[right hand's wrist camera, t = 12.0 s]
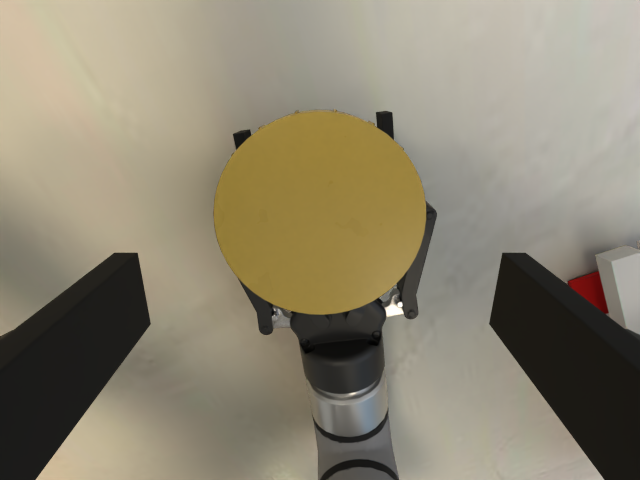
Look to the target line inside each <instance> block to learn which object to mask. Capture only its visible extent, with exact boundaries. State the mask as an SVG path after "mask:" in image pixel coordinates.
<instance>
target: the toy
mask: <svg viewBox="0 0 640 480" xmlns="http://www.w3.org/2000/svg"><path fill="white" fill-rule="evenodd" d="M637 246H638V249H635V248H633V247H630V246H627V245H624V246H621V247H618V248H615V249H612V250H609V251H606V252H603V253H599V254H596V255H595V257H596V261H597V265H598V270H599V271H597V272H594V273H591V274H588V275H585V276H582V277H579V278H576V279H573V280H570V281H568V283H569V286H570V287H571V288H572V289H573V290H575V291H576V292H577V293H579V294H580V295H581V296H583V297H584V298H585V299H586V300H588V301H589V302H590V303H592V304H593V305H594V306H596V307H597V308H598V309H600V310H601V311H602V312H603V313H605V314H606V315H607V316H609V317H610V318H611V319H613V320H614V321H615V322H616V323H618V324H619V325H620V326H622V327H623V328H624V329H629V330H631V331H633V332H635V333H637V334H639V335H640V241H637Z"/></svg>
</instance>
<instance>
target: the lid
mask: <svg viewBox="0 0 640 480" xmlns="http://www.w3.org/2000/svg"><path fill="white" fill-rule="evenodd" d="M374 125H375V124H374V123H372V122H370V121H368V122H367V121H365V120H362V119H360V118H358V117H356V116H353V115H350V114H347V113H344V112H338V111H337V110H336V109H334V111H332V110H309V111H301V112H299V110H298V111H296V112H295V113H293V114H289V115H287V116H284V117H282V118H279V119H277V120H275V121H273V122H271V123H270V124H268V125H263V126H261V127H259V128H258V129H259V130H258V131H257V132H255V133H254V134H253V135H251V136H250V137H249V138H248V139H246V141H245V142H244V143H243V144H242V145H241V146H240V147H239V148H238V149H237V150H236V151H235V152H234V153H233V154H232V155H231V156H232V157H231V158H230V160H229V161H228V163H227V165H226V167H225V169H224V170H223V172H222V175H221V177H220V180H219V183H218V186H217V190H216V195H215V200H214V226H215V231H216V236H217V240H218V243H219V246H220V249H221V251H222V253H223V255H224V257H225V259H226V261H227V263H228V265H229V266H230V268H231V269H232V271H233V272H234V274H235V275H236V276H237V277H238V278H239V279H240V280H241V281H242V283H243V284H244V285H246V286H247V287H248V288H249V289H250V290H251V291H252V292H254V293H255V294H257V295H258V296H260V297H261V298H262V299H264V300H266V301H268V302H270V303H272V304H274V305H276V306H279V307H281V308H284V309H287V310H290V311H294V312H298V313H305V314H319V315H325V314H336V313H341V312H346V311H350V310H353V309H356V308H359V307H361V306H364V305H366V304H368V303H370V302H372V301H374V300H375V299H377V298H379V297H380V296H382V295H383V294H385V293H386V292H387V291H388V290H390V289H391V288H392V287H393V286H394V285H395V284H396V283H397V282H398V281H399V280H400V279H401V278H402V277H403V276H404V274H405V273H406V272H407V270H408V269H409V268H410V266H411V264H412V263H413V261H414V259H415V257H416V255H417V253H418V251H419V248H420V246H421V243H422V239H423V235H424V231H425V224H426V202H425V195H424V190H423V187H422V184H421V180H420V178H419V175H418V173H417V171H416V169H415V167H414V165H413V163H412V162H411V160H410V159H409V157H408V155H407V154H406V153H405V152H404V149H403V148H402V147H401V146H399V145H398V143H396V142H395V141H394V140H393V139H392V138H391V137H390V136H389V135H387V134H386V133H385V132H383V131H382V130H380V129H379V128H377V127H376V126H374Z"/></svg>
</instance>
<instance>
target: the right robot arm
mask: <svg viewBox="0 0 640 480" xmlns="http://www.w3.org/2000/svg"><path fill="white" fill-rule="evenodd" d="M150 324H151V323H150V318H149V312H148V307H147V301H146V296H145V291H144V285H143V280H142V274H141V269H140V263H139V258H138V253H114V254H112V255H111V256H110V257H108V258H107V259H106V260H104V261H103V262H102V263H101V264H99V265H98V266H97V267H95V268H94V269H93V270H91V271H90V272H89V273H87V274H86V275H85V276H84V277H82V278H81V279H80V280H78V281H77V282H76V283H74V284H73V285H72V286H70V287H69V288H68V289H67V290H65V291H64V292H63V293H61V294H60V295H59V296H57V297H56V298H55V299H54V300H52V301H51V302H50V303H48V304H47V305H46V306H44V307H43V308H42V309H40V310H39V311H38V312H37V313H35V314H34V315H33V316H31V317H30V318H29V319H27V320H26V321H25V322H24V323H22V324H21V325H20V326H18V327H17V328H16V329H14V330H12V331H10V332H8V333H6V334H4V335H2V336H0V480H36V478H37V477H38V476H39V474H40V473H41V471H42V470H43V469H44V467H45V466H46V465H47V463H48V462H49V461H50V459H51V458H52V457H53V455H54V454H55V453H56V451H57V450H58V449H59V447H60V446H61V444H62V443H63V442H64V440H65V439H66V438H67V436H68V435H69V434H70V432H71V431H72V430H73V428H74V427H75V426H76V424H77V423H78V422H79V420H80V419H81V417H82V416H83V415H84V413H85V412H86V411H87V409H88V408H89V407H90V405H91V404H92V403H93V401H94V400H95V399H96V397H97V396H98V394H99V393H100V392H101V390H102V389H103V388H104V386H105V385H106V384H107V382H108V381H109V380H110V378H111V377H112V376H113V374H114V373H115V372H116V370H117V369H118V367H119V366H120V365H121V363H122V362H123V361H124V359H125V358H126V357H127V355H128V354H129V353H130V351H131V350H132V349H133V347H134V346H135V345H136V343H137V342H138V340H139V339H140V338H141V336H142V335H143V334H144V332H145V331H146V330H147V328H148V327H149V326H150ZM489 324H490V326H491V327H492V328H493V330H494V331H495V332H496V334H497V335H498V336H499V338H500V339H501V340H502V342H503V343H504V345H505V346H506V347H507V349H508V350H509V351H510V353H511V354H512V355H513V357H514V358H515V359H516V361H517V362H518V363H519V365H520V366H521V367H522V369H523V370H524V372H525V373H526V374H527V376H528V377H529V378H530V380H531V381H532V382H533V384H534V385H535V386H536V388H537V389H538V390H539V392H540V393H541V394H542V396H543V397H544V399H545V400H546V401H547V403H548V404H549V405H550V407H551V408H552V409H553V411H554V412H555V413H556V415H557V416H558V417H559V419H560V420H561V422H562V423H563V424H564V426H565V427H566V428H567V430H568V431H569V432H570V434H571V435H572V436H573V438H574V439H575V440H576V442H577V443H578V444H579V446H580V447H581V449H582V450H583V451H584V453H585V454H586V455H587V457H588V458H589V459H590V461H591V462H592V463H593V465H594V466H595V467H596V469H597V470H598V471H599V473H600V474H601V476H602V477H603V478H604V480H640V335H639V334H637V333H635V332H633V331H631V330H629V329H624V328H623V327H622V326H620V325H619V324H618V323H616V322H615V321H614V320H613V319H611V318H610V317H609V316H607V315H606V314H605V313H603V312H602V311H601V310H600V309H598V308H597V307H596V306H594V305H593V304H592V303H590V302H589V301H588V300H586V299H585V298H584V297H583V296H581V295H580V294H579V293H577V292H576V291H575V290H573V289H572V288H571V287H570V286H568V285H567V284H566V283H564V282H563V281H562V280H560V279H559V278H558V277H556V276H555V275H554V274H553V273H551V272H550V271H549V270H547V269H546V268H545V267H543V266H542V265H541V264H539V263H538V262H537V261H536V260H534V259H533V258H532V257H530V256H529V255H528V254H526V253H502V258H501V263H500V269H499V274H498V280H497V285H496V291H495V296H494V301H493V307H492V312H491V318H490V323H489Z"/></svg>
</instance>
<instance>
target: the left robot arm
mask: <svg viewBox="0 0 640 480" xmlns="http://www.w3.org/2000/svg"><path fill="white" fill-rule="evenodd" d="M376 118H377V128H379V129H380V130H382V131H383V132H385V133H386V134H387V135H389V136H390V137H391V138H392V139H393V140H394V133H393V116H392V112H388V111H382V112H376ZM233 136H234V141H235V146H236V150H237V149H238V148H239V147H240V146H241V145H242V144H243V143H244V142H245V141H246V139H248V138H249V137H250V136H251V131H250V130H242V131H239V132H237V133H234V134H233ZM425 202H426V201H425ZM436 217H437V213H436V210H434V208H433V207H432V206H431V205H430V204H429V203H427V202H426V224H425V231H424V235H423V239H422V243H421V246H420V248H419V251H418V253H417V255H416V257H415V259H414V261H413V263H412V264H411V266H410V268H409V269H408V270H407V272H406V273H405V274H404V276H403V277H402V278H401V279H400V280H399V281H398V282H397V288H394V289H393V290H392V291H391V293H390V297H389V299H388V300H387V301H386V302H382V301H381V300H380V299H379V298H377V299H375V300H374V301H372V302H370V303H368V304H366V305H364V306H361V307H359V308H356V309H353V310H350V311H346V312H341V313H336V314H325V315H319V314H305V313H298V312H294V311H292V312H291V313H290V312H286V311H285V310H284V309H283V308H281V307H279V306H276V305H274V304H272V303H270V302H268V301H266V300H264V299H262V298H261V297H260V296H258V295H257V294H255V293H254V292H252V291H251V290H250V289H249V288H248V287H247V286H246V285H244V284H243V283H242V281H241V280H240V279H239V278H238V279H239V281H240V283H241V285H242V286H243V288H244V290H245V292H246V294H247V295H248V297H249V299H250V301H251V303H252V304H253V306H254V308H255V310H256V312H257V317H258V324H259V330H260V332H261V333H262V334H264V335H269V334H271V333H272V331H273V328H291V329H292V330H293V332H294V333H295V334H296V335H297V337H298V340H299V344H300V350H301V356H302V361H303V367H304V372H305V376H306V384H307V389H308V395H309V400H310V405H311V410H312V416H313V420H314V425H315V432H316V440H317V447H318V480H399V477H398V472H397V467H396V462H395V457H394V453H393V447H392V441H391V432H390V424H389V416H388V395H387V384H386V373H385V369H384V366H385V361H384V349H383V337H382V326H383V324H384V322H385V320H386V317H390V316H396V315H401V314H404V315H405V317H406V318H407V319H414V318H416V317H417V315H418V306H417V298H416V293H417V289H418V285H419V282H420V278H421V274H422V270H423V266H424V263H425V259H426V255H427V251H428V247H429V244H430V240H431V236H432V232H433V228H434V225H435V221H436Z"/></svg>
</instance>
